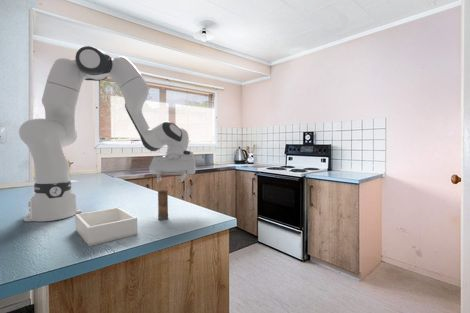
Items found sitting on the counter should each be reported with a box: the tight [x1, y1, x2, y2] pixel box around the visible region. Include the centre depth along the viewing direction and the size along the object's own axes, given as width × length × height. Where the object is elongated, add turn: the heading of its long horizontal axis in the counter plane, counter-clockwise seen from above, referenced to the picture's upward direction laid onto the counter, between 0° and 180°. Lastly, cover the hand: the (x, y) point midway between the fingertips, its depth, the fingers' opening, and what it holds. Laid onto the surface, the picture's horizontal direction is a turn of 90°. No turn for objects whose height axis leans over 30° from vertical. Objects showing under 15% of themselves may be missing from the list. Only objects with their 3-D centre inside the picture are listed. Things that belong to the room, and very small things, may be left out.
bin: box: [74, 206, 138, 247], centre depth 82 cm, size 18×14×6 cm
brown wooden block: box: [157, 189, 169, 221], centre depth 96 cm, size 4×4×11 cm
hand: (169, 180), depth 105 cm, fingers open, 8 cm apart
